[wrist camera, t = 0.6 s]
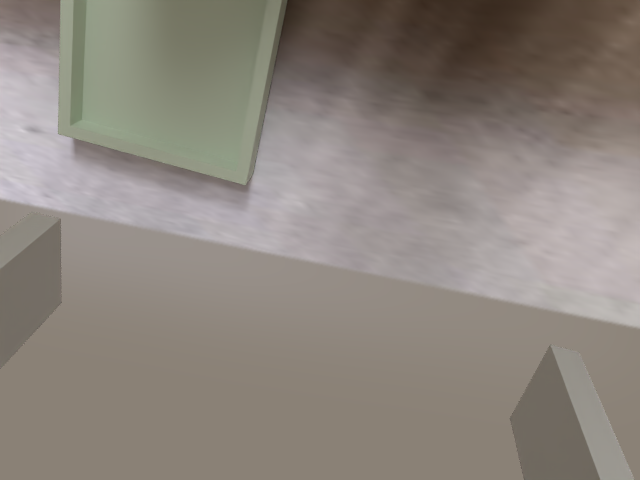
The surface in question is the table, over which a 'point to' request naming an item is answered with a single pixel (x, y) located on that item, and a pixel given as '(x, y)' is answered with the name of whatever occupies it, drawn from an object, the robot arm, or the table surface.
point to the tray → (170, 79)
